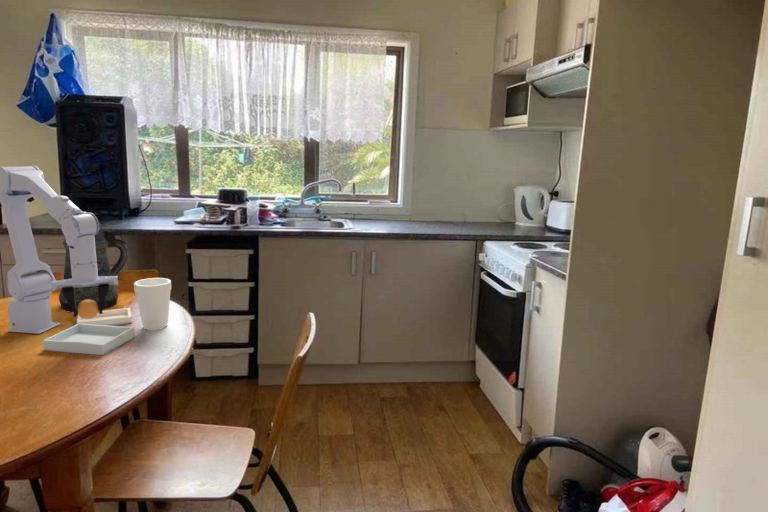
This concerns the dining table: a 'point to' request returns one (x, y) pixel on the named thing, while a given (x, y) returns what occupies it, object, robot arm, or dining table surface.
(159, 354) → the dining table surface
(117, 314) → the dish
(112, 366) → the dining table surface
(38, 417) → the dining table surface
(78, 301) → the beer stein
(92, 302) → the ball
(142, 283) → the foam cup
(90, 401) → the dining table surface
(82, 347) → the tray
